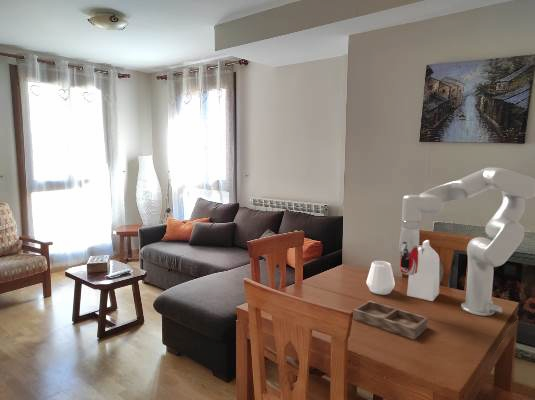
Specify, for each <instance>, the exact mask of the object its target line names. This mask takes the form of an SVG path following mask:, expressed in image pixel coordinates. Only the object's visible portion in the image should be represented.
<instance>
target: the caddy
mask: <svg viewBox="0 0 535 400" xmlns="http://www.w3.org/2000/svg"><path fill="white" fill-rule="evenodd" d="M352 311H353V312H352V314H353V313H354V318H353V317H352V319H353V320H355V321H359V322H362V323H364V324H367V325H370V326H374V327H376V328H379V329H382V330H384V331H388V332H391V333H394V334H397V335H400V336H401V337H405V338H409V339H410V340H411V339H412V340H416V339H417V337H419V336H420V335H421V334H422V333H423V332H424V331H425V330H427V329H428V325H429V317H427V316H424V315H420V314H417V313H414V312H411V311H410V312H409V311H406V310H403V309H399V308H398V307H397V308H396V307H393V306H389V305H386V304H383V303H379V302H375V301H373V300H368V301H365V302H364V303H362V304H360V305H359V306H357V307H355V308H353V309H352Z"/></svg>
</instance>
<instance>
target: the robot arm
mask: <svg viewBox="0 0 535 400" xmlns="http://www.w3.org/2000/svg"><path fill="white" fill-rule="evenodd" d="M491 189H493V190H500V191H501V195H502V201H501V202H502V203H501V204H500V206H499V207H498V209H497V210H496V212H495V213H494V214H493V216H492V217H491V218H489V221H488V222H487V223H486V225H485V228H484V231H485V233H486V235H487V236H489V237H490V238H492V239H489V238H487V237H482V236H478V237H474V238H472V239H470V240H469V242H467V243H468V244H467V247H466V254H467V274H466V275H467V277H466V291H465V302H462V303H461V306H460V308H461V309H462V310H463V311H465V312H466V313H469V314H472V315H476V316H481V317H482V316H484V317H486V316H493V315H494V314H495V312H497V313H500V314H502V313H503V307H501V306H500V305H496V304H495V303H494V301H493V300H492V297H493V296H492V294H493V283H494V268H496V267H500V266H502V265H504V264H505V263H506V262H507V261H508V260H509V258H510V257H511V256H512V255H513V253H515V252H516V250H517V249H518V247H519V245H520V244H521V243H522V242H523V240H524V237H525V233H526V232H525V228H524V226H523V225H522V224H521V223H520V222H519V221H520V219H521V217H522V216H523V215H524V213H525V209H526V203H525V199H526V200H529V199H533V198H535V178H534V177H532V176H528V175H525V174H522V173H519V172H515V171H513V170H510V169H506V168H502V167H492V166H491V167H485V168H482V169H480V170H478V171H475V172H473V173H471V174H469V175H466V176H464V177H461V178H459V179H457V180H453V181H449V182H447V183H444V184H441V185H438V186H434V187H433V188H430V189H428V190H426V191H423V192H422V193H420V194H419V195H418V194H406V195H404V196H403V197H402V204H401V205H402V208H401V229H400V235H399V243H398V244H399V245H398V251H399V252H400V255H401V267H403V268H407V269H408V268H409V259H408V258H409V254H410V253H411V252H412V250H413V247H417V249H418V248H419V247H420V230H421V224H422V223H421V222H422V213H423V214H424V213H425V214H430V215H431V214H432V215H435V214H439V213H440V212H442V211H443V209H444V207H445V202H449V201H462V200H467V199H470V198H472V197H475V196H476V195H479V194H481V193H483V192H486V191H487V190H488V191H489V190H491ZM405 250H408V251H405ZM405 253H407V255H406V254H405Z"/></svg>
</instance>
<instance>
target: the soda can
mask: <svg viewBox="0 0 535 400" xmlns="http://www.w3.org/2000/svg"><path fill="white" fill-rule="evenodd" d="M405 251H408V250H405ZM405 254H406V255H407V253H405ZM408 259H409V268H408V269H407V268H403V267H401V254H400V258H399V271H400V272H401V273H402V275H403V274H404V275H406V276H409V275H414V274H415V273H417V269H418V249H417V247H413V250H412V252H411V253H410V254H409V258H408Z"/></svg>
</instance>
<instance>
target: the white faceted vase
mask: <svg viewBox="0 0 535 400" xmlns="http://www.w3.org/2000/svg"><path fill="white" fill-rule="evenodd" d="M394 277H395V276H394V273H393V267H392V264H391V263H390V262H387V261H385V260H374V261H372V262H371V265H370V269H369V271H368V275H367V279H366V286H367V288H368V289H369V291H370V292H371V293H373V294H376V295H381V296H382V295H389V294H391V292H392V291H393V289H394V288H395V285H396V284H395V283H396V282H395V278H394Z"/></svg>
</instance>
